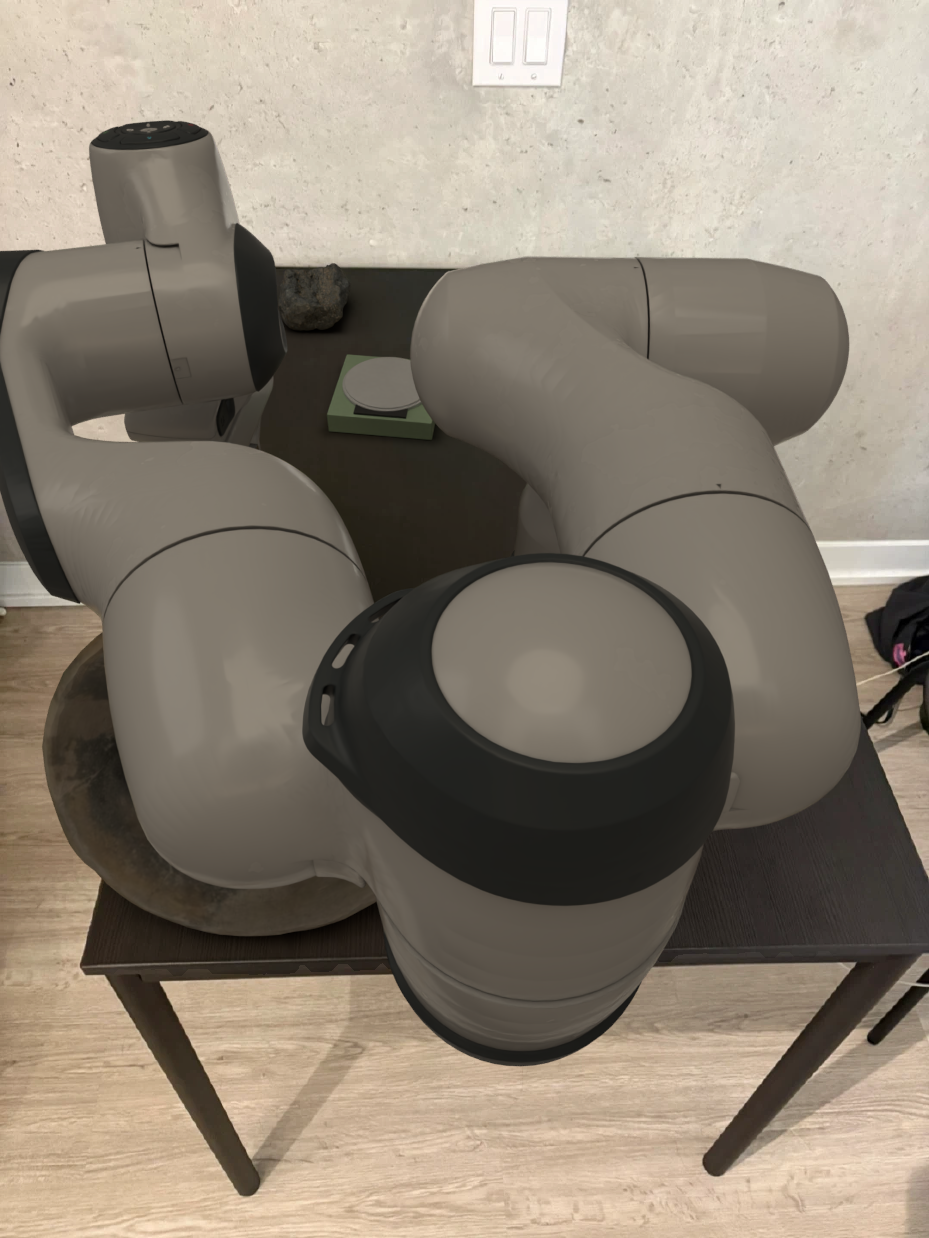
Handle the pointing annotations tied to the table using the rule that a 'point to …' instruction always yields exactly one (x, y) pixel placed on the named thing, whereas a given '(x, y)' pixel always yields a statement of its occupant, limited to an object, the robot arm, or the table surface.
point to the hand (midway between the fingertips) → (236, 494)
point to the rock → (313, 297)
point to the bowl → (118, 845)
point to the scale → (378, 400)
